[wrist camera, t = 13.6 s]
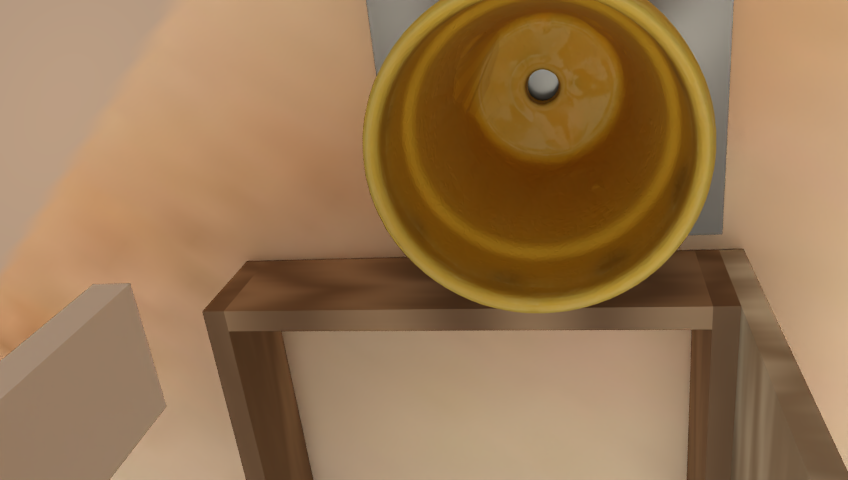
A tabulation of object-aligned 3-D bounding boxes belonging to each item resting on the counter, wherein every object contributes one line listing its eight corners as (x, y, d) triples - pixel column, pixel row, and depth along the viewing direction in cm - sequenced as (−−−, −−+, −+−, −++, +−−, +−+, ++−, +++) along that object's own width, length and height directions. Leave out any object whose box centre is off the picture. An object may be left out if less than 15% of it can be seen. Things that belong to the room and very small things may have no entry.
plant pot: (368, 58, 32) (289, 122, 23) (578, -115, 28) (580, -117, 19) (515, 245, 34) (495, 369, 25) (729, 111, 30) (794, 203, 21)
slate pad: (401, 238, 35) (399, 243, 35) (358, -87, 30) (354, -87, 29) (720, 228, 32) (722, 234, 32) (737, -134, 27) (740, -134, 26)
